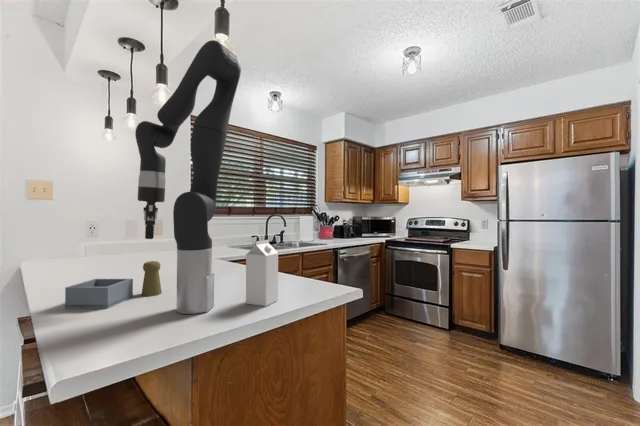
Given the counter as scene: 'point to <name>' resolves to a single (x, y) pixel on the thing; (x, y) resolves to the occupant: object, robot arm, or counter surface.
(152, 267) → the cork
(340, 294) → the counter surface
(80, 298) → the crate
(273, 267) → the milk carton
